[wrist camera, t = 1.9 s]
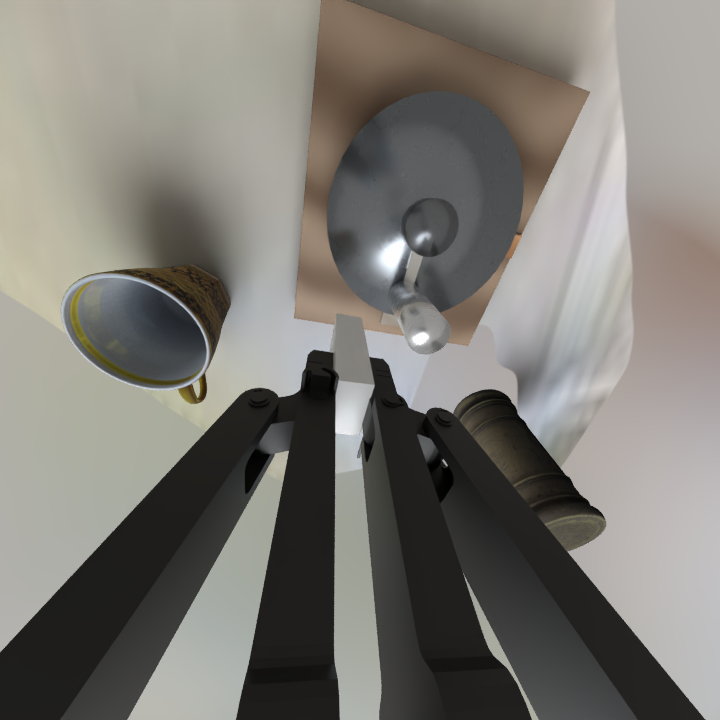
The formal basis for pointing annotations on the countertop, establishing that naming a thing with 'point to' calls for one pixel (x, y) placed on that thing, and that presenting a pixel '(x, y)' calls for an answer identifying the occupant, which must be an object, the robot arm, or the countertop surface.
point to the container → (529, 468)
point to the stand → (386, 86)
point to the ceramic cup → (148, 325)
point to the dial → (425, 209)
